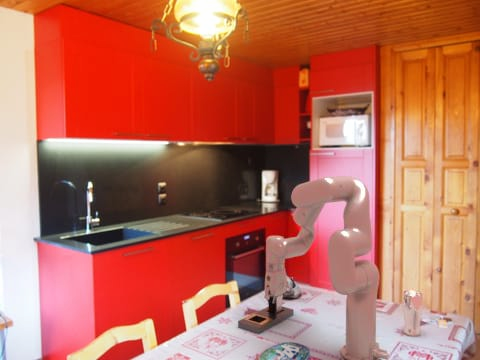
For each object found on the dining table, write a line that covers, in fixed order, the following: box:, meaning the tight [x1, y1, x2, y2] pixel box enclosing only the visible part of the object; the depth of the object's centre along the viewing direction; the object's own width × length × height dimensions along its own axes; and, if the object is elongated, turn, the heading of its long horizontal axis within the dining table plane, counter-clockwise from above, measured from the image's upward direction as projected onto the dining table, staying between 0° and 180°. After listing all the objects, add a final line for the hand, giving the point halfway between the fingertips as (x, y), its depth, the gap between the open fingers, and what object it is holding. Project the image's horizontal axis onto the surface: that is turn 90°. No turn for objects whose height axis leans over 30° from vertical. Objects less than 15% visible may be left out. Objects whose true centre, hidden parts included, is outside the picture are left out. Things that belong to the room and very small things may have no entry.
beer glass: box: [401, 290, 424, 337], centre depth 149 cm, size 7×7×15 cm
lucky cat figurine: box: [283, 274, 303, 299], centre depth 190 cm, size 15×12×14 cm
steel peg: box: [271, 295, 283, 314], centre depth 164 cm, size 4×4×9 cm
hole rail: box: [237, 305, 294, 335], centre depth 159 cm, size 10×24×3 cm, turn 141°
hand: (275, 310), depth 164 cm, fingers closed on steel peg, 4 cm apart
